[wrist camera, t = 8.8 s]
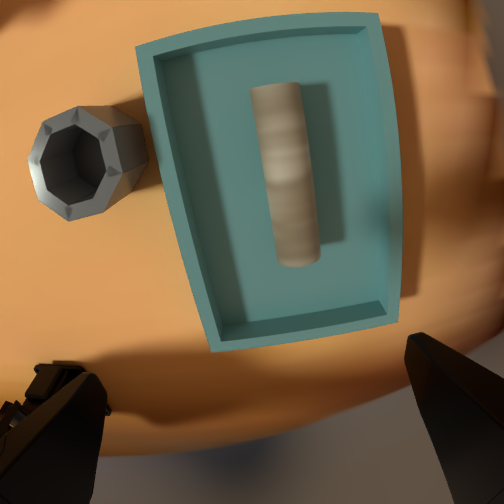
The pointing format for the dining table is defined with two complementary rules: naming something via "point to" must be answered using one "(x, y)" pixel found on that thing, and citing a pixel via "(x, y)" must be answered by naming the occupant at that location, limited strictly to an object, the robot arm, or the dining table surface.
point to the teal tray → (253, 183)
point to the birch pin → (287, 172)
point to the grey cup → (87, 160)
